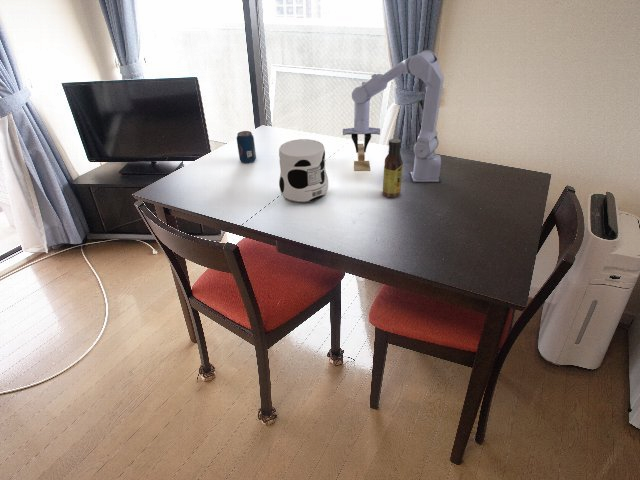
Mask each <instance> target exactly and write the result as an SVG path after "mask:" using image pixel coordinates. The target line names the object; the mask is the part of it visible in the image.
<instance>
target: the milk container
mask: <svg viewBox="0 0 640 480" xmlns="http://www.w3.org/2000/svg"><path fill="white" fill-rule="evenodd" d="M278 156H279V168H280V173H279V178H278V179H279V180H278V186H279V190H280V193H281V195H282V197H283V198H285V199H286V200H288V201H290V202H293V203H299V204H300V203H301V204H302V203H305V204H306V203H313V202H316V201H318V200H320V199H322V198H323V197H325V195H326V194H327V192H328V188H329V178H328V174H327V169H326V150H325V146H324V144H323V143H322V142H320V141H319V140H315V139H309V138H299V139H292V140H289V141H285V142H284V143H282V144H281V145H280V146H279V149H278Z"/></svg>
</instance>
